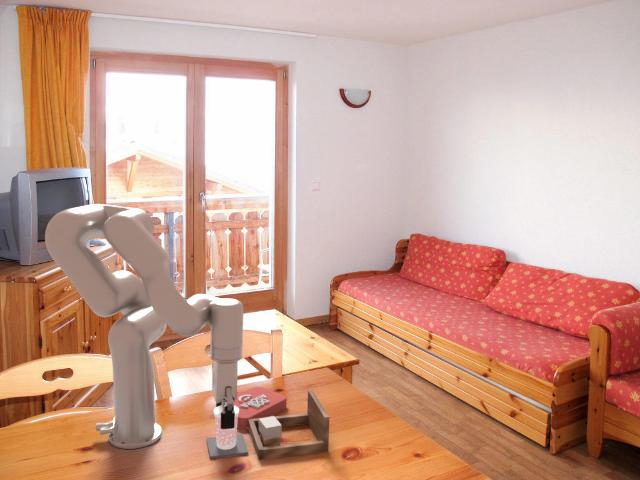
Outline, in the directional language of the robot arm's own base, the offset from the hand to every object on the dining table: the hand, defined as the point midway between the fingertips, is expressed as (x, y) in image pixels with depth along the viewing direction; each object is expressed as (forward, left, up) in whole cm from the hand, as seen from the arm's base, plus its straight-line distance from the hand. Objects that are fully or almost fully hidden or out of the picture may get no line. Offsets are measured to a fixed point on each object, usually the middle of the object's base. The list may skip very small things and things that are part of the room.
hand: (224, 418), depth 147 cm
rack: (+15, 0, -7) cm, 17 cm away
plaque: (+9, +19, -8) cm, 22 cm away
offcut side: (+12, +5, -8) cm, 15 cm away
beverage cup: (0, 0, -7) cm, 7 cm away
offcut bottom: (+11, -1, -8) cm, 13 cm away
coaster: (0, 0, -7) cm, 7 cm away
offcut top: (+11, -1, -5) cm, 12 cm away
